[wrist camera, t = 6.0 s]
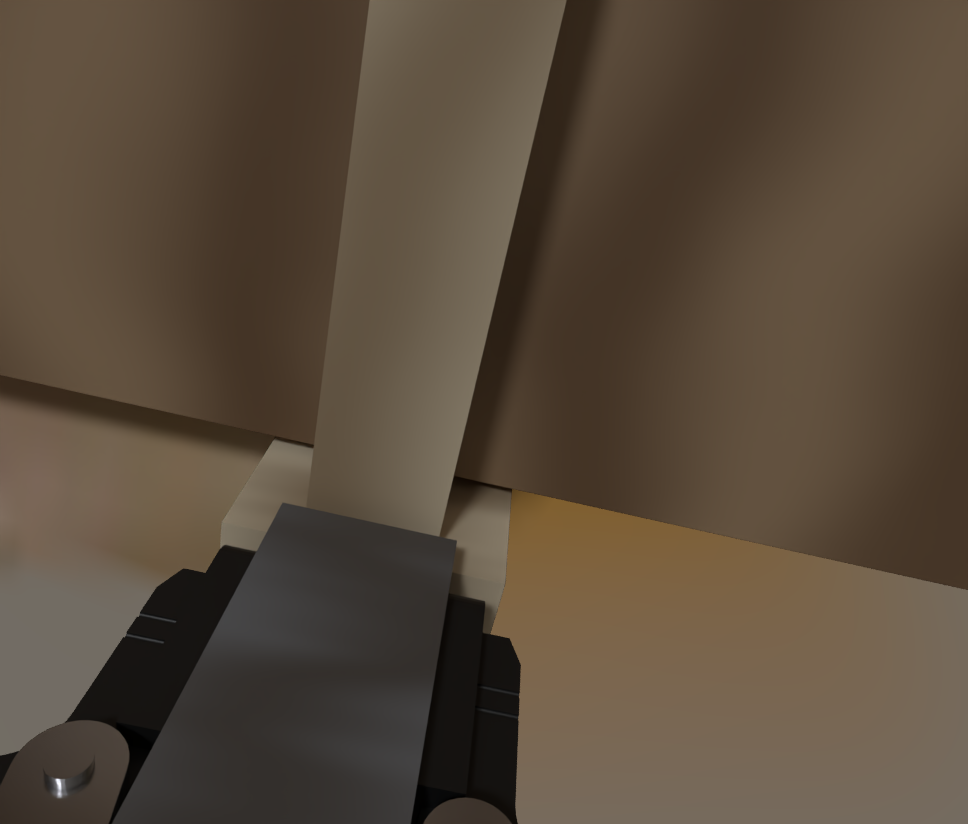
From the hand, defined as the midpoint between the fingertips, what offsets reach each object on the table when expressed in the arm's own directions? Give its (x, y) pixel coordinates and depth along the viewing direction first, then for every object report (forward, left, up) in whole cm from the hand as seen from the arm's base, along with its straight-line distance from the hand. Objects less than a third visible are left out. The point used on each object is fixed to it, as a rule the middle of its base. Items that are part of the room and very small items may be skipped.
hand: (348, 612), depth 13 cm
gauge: (0, -5, -5) cm, 7 cm away
